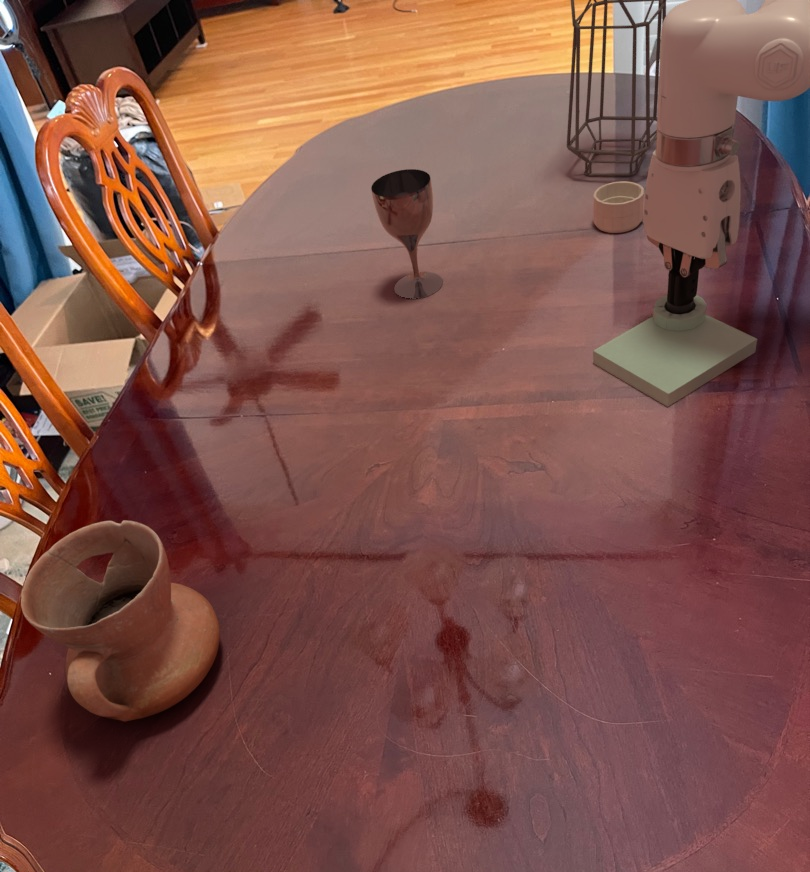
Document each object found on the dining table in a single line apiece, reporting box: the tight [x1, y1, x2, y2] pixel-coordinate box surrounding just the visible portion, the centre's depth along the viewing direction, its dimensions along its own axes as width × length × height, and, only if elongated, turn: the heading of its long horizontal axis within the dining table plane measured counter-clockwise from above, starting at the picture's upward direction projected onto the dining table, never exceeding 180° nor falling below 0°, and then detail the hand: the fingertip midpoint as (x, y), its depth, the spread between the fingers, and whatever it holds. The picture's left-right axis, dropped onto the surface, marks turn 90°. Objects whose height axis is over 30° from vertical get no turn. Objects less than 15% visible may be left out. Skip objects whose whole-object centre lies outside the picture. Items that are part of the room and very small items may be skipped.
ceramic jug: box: [20, 519, 221, 722], centre depth 73 cm, size 18×14×14 cm
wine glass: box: [370, 168, 444, 300], centre depth 112 cm, size 8×8×15 cm
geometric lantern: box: [566, 0, 667, 177], centre depth 120 cm, size 16×16×35 cm
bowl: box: [593, 180, 645, 234], centre depth 119 cm, size 7×7×4 cm
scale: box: [592, 294, 758, 408], centre depth 96 cm, size 14×12×4 cm
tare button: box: [667, 298, 694, 314], centre depth 98 cm, size 3×3×2 cm
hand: (681, 299), depth 97 cm, fingers closed
